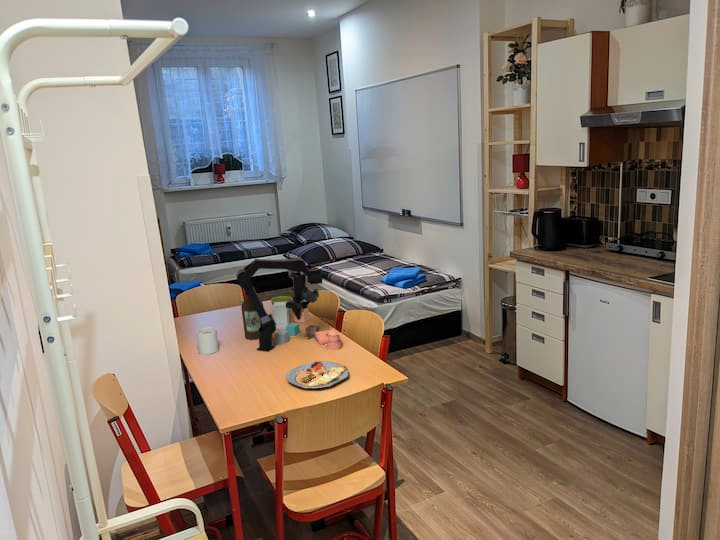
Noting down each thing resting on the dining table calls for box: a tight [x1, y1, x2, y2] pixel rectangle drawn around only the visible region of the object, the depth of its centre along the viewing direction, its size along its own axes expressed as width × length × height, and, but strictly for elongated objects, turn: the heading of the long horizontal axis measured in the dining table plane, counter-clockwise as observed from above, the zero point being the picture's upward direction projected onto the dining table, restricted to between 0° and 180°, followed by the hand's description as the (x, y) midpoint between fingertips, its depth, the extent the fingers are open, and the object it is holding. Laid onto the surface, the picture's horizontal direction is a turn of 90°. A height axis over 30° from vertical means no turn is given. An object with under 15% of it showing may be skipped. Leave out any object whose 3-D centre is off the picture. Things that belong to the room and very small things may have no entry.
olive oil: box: [241, 286, 265, 341], centre depth 269 cm, size 11×11×25 cm
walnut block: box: [305, 324, 321, 339], centre depth 269 cm, size 5×5×5 cm
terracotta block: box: [293, 308, 310, 323], centre depth 256 cm, size 5×5×5 cm
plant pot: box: [270, 295, 293, 319], centre depth 297 cm, size 12×12×11 cm
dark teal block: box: [285, 322, 301, 337], centre depth 273 cm, size 5×5×5 cm
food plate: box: [285, 360, 350, 389], centre depth 221 cm, size 25×23×4 cm
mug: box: [196, 327, 220, 355], centre depth 255 cm, size 11×10×10 cm
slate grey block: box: [273, 329, 290, 345], centre depth 263 cm, size 5×5×5 cm
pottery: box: [314, 327, 342, 351], centre depth 257 cm, size 18×10×10 cm, turn 20°
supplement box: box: [272, 302, 291, 330], centre depth 284 cm, size 7×7×13 cm
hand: (301, 317), depth 257 cm, fingers closed on terracotta block, 5 cm apart
